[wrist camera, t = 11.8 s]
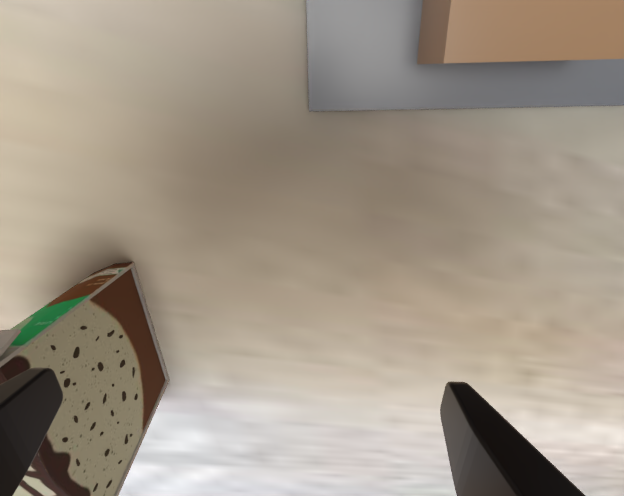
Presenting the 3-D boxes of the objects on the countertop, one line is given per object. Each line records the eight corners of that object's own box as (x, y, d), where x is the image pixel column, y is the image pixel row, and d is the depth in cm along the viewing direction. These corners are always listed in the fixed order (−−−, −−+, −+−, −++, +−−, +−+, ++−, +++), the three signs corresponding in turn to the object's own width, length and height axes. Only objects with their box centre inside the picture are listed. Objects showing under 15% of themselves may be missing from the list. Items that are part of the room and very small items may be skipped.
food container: (24, 241, 21) (-203, 370, 12) (126, 238, 21) (-30, 369, 12) (92, 394, 27) (-30, 561, 18) (174, 394, 26) (92, 565, 17)
